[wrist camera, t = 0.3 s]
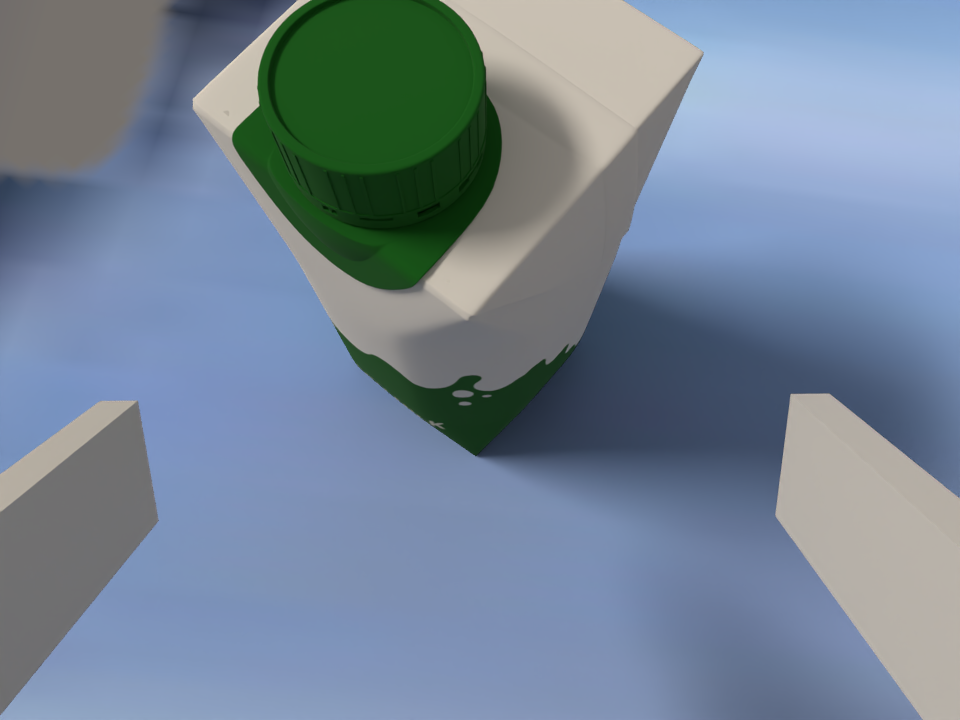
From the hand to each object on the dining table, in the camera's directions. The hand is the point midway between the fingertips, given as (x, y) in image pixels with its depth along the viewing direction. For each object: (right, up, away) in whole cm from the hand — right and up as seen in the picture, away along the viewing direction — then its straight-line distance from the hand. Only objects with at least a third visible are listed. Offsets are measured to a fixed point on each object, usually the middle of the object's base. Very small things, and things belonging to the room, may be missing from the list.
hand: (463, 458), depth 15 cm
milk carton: (0, +3, +18) cm, 18 cm away
